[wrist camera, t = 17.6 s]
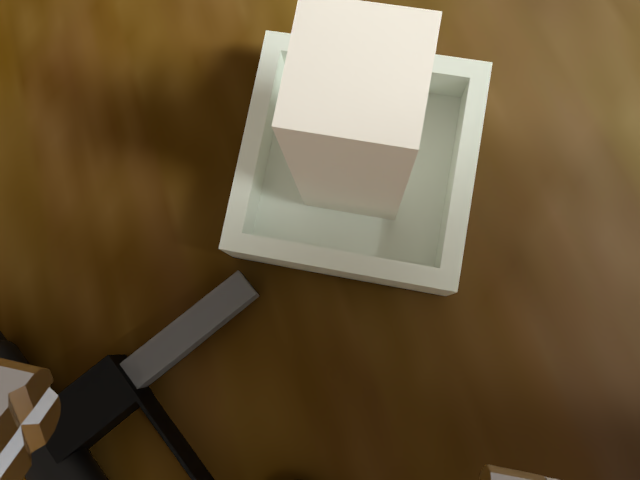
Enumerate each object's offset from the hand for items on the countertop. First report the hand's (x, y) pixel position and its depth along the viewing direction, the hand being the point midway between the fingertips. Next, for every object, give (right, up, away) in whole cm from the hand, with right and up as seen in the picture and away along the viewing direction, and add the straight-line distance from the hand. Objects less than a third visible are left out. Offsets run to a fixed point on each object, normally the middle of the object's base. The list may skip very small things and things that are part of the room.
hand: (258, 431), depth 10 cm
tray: (+3, +7, +21) cm, 23 cm away
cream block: (+3, +7, +20) cm, 22 cm away
